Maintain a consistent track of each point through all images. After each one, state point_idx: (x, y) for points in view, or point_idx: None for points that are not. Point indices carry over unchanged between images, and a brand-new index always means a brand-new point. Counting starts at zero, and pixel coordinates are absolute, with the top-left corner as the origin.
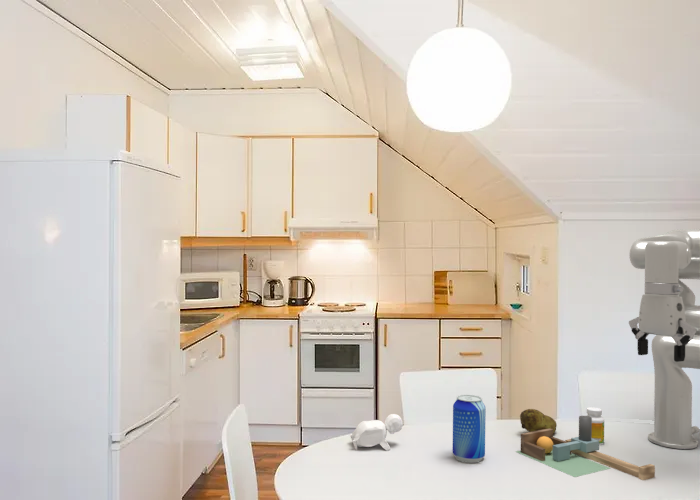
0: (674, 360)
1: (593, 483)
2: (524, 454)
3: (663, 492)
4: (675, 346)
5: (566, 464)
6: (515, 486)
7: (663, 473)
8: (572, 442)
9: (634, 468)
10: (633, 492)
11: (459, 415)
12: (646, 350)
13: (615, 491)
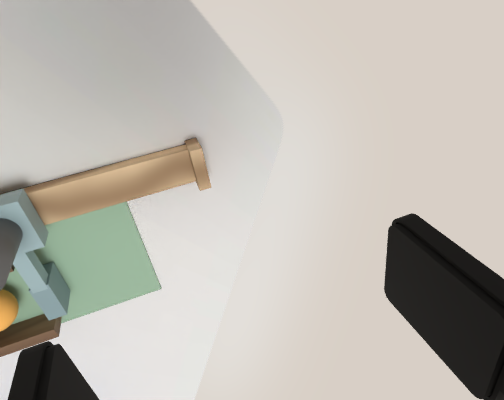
0: (392, 297)
1: (192, 268)
2: None
3: (261, 173)
4: (489, 393)
5: (88, 279)
6: (175, 372)
7: (174, 93)
8: (24, 271)
9: (169, 175)
10: (245, 224)
11: None
12: (61, 392)
13: (232, 250)
